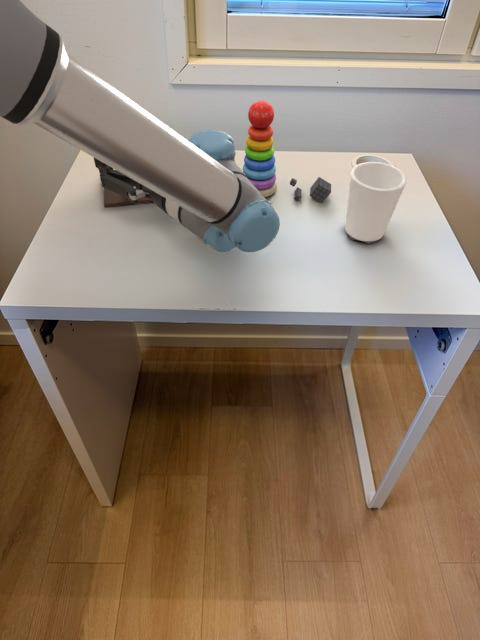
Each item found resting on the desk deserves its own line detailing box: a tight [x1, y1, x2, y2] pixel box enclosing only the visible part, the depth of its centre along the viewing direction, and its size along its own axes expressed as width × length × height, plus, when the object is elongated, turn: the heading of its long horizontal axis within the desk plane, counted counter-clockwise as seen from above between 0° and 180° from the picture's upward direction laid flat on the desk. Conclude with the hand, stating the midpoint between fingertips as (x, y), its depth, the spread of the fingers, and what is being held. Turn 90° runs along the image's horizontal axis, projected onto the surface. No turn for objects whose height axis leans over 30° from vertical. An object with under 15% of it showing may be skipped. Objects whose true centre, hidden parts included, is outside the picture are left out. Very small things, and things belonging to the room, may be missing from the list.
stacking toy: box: [242, 100, 278, 198], centre depth 95 cm, size 8×8×19 cm
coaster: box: [103, 187, 154, 208], centre depth 101 cm, size 12×12×1 cm
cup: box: [344, 161, 408, 245], centre depth 88 cm, size 10×10×13 cm
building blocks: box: [289, 176, 332, 204], centre depth 99 cm, size 3×6×8 cm
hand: (116, 152), depth 99 cm, fingers open, 9 cm apart
